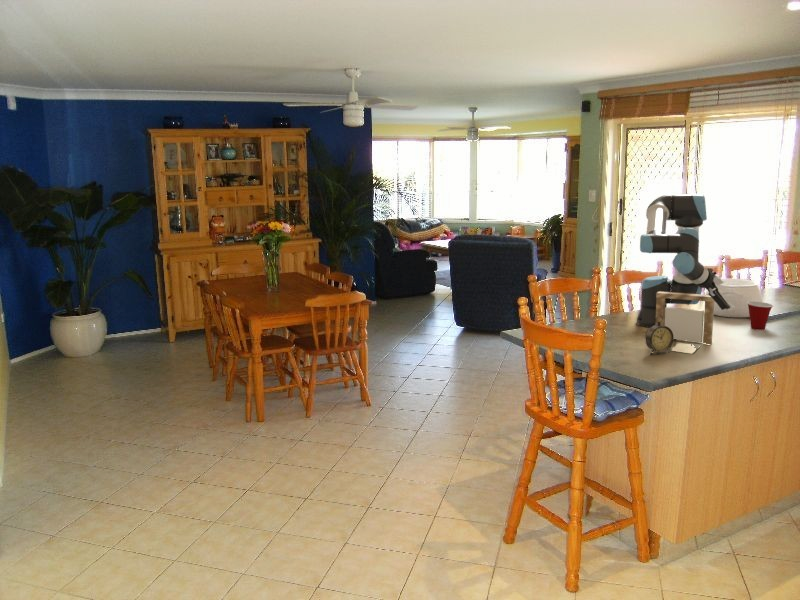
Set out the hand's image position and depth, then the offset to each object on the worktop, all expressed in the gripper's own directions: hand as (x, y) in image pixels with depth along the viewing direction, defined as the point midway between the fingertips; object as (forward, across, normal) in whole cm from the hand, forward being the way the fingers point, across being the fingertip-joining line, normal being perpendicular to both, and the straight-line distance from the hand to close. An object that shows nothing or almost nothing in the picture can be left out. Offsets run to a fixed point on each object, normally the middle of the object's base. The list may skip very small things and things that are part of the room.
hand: (726, 296), depth 287 cm
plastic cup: (+44, +6, +5) cm, 45 cm away
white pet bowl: (+62, +30, +18) cm, 71 cm away
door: (+5, -7, +25) cm, 27 cm away
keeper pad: (-3, -16, +22) cm, 28 cm away
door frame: (+5, -7, +26) cm, 27 cm away
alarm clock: (-15, -20, +29) cm, 38 cm away
